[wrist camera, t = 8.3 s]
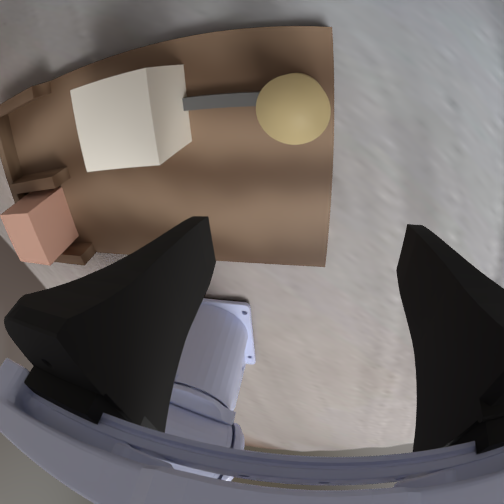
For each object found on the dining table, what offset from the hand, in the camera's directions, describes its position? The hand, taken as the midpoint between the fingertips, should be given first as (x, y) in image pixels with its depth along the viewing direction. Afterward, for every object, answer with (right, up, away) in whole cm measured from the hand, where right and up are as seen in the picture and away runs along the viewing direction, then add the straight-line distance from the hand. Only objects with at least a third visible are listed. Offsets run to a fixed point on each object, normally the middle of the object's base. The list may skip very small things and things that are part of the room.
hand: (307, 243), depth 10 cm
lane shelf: (-11, +6, +9) cm, 16 cm away
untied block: (-20, +3, +13) cm, 24 cm away
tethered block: (-4, +9, +5) cm, 11 cm away
